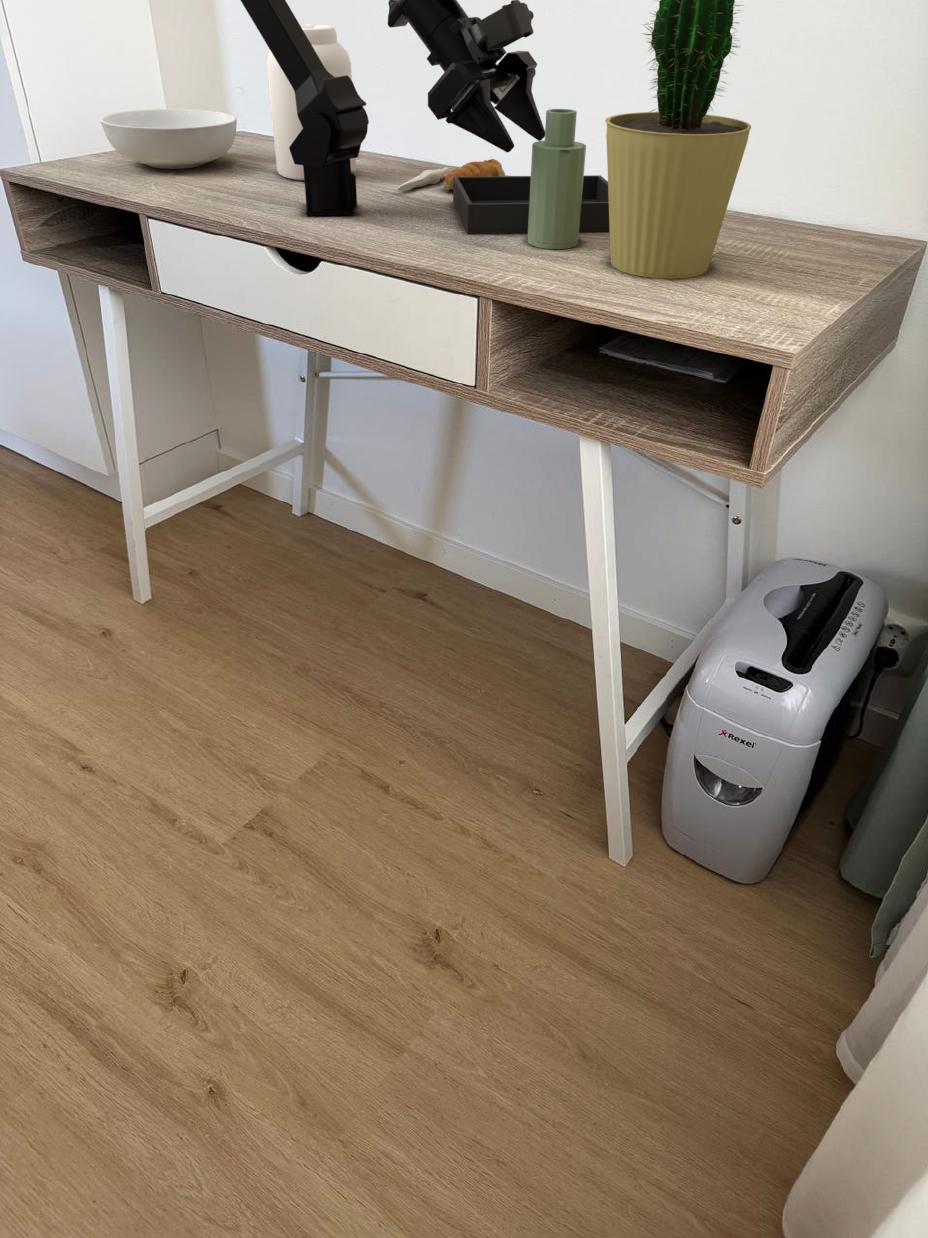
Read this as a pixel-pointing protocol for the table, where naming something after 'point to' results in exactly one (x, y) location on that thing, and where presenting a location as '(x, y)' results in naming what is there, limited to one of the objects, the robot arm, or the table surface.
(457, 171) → the pastry
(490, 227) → the tray
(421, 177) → the parsnip
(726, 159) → the potted cactus
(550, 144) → the bottle
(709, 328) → the table surface
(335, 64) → the cream vase
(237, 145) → the table surface
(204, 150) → the serving bowl
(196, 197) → the table surface
